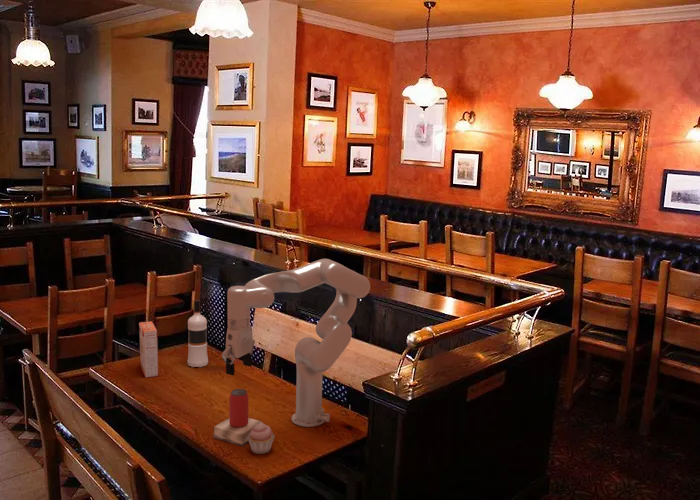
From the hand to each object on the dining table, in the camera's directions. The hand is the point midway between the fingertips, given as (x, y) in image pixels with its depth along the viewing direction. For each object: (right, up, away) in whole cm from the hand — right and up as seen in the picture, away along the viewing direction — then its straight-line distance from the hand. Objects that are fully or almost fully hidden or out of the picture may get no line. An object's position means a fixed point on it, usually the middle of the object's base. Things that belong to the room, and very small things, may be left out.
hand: (238, 369), depth 227 cm
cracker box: (-49, -12, +60) cm, 78 cm away
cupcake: (+8, -26, -6) cm, 28 cm away
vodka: (-30, -11, +70) cm, 77 cm away
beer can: (-1, -20, +4) cm, 20 cm away
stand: (-1, -24, +4) cm, 24 cm away
